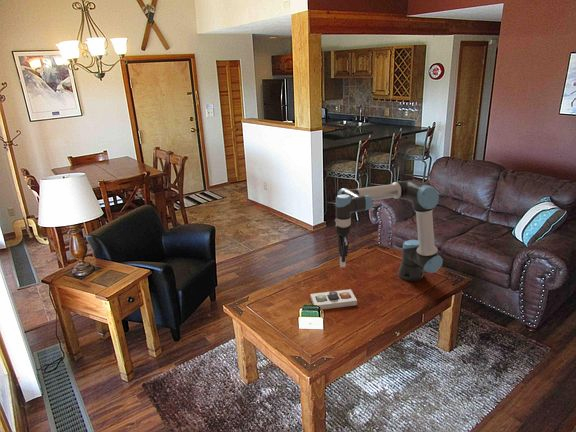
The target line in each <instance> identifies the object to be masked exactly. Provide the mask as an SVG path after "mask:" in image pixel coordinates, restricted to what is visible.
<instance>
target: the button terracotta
mask: <svg viewBox="0 0 576 432" xmlns="http://www.w3.org/2000/svg"><path fill="white" fill-rule="evenodd" d="M347 298H350V294H349V293H348V292H342V293H341V299H347Z"/></svg>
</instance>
